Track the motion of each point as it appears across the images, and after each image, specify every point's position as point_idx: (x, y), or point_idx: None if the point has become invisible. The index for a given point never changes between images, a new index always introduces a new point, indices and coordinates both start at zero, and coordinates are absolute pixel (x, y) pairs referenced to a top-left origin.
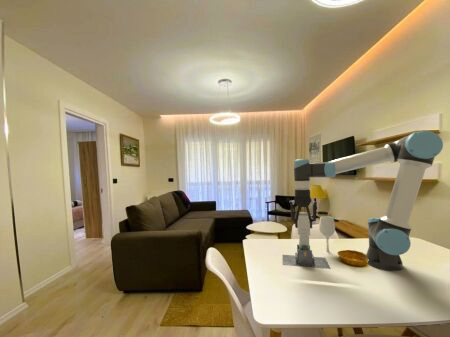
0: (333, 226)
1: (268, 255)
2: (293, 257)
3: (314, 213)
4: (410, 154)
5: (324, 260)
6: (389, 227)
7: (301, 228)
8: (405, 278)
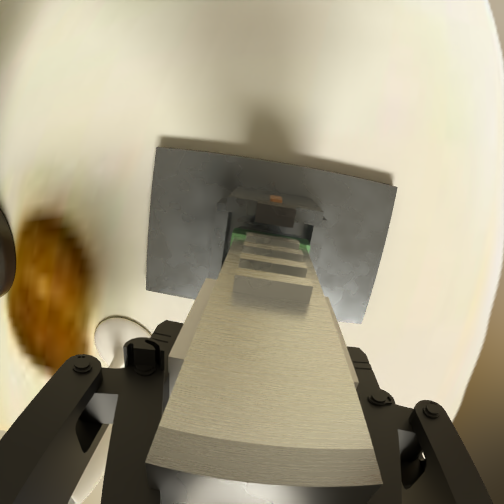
0: None
1: (417, 329)
2: None
3: (27, 440)
4: None
5: (157, 253)
6: None
7: (303, 308)
8: None
